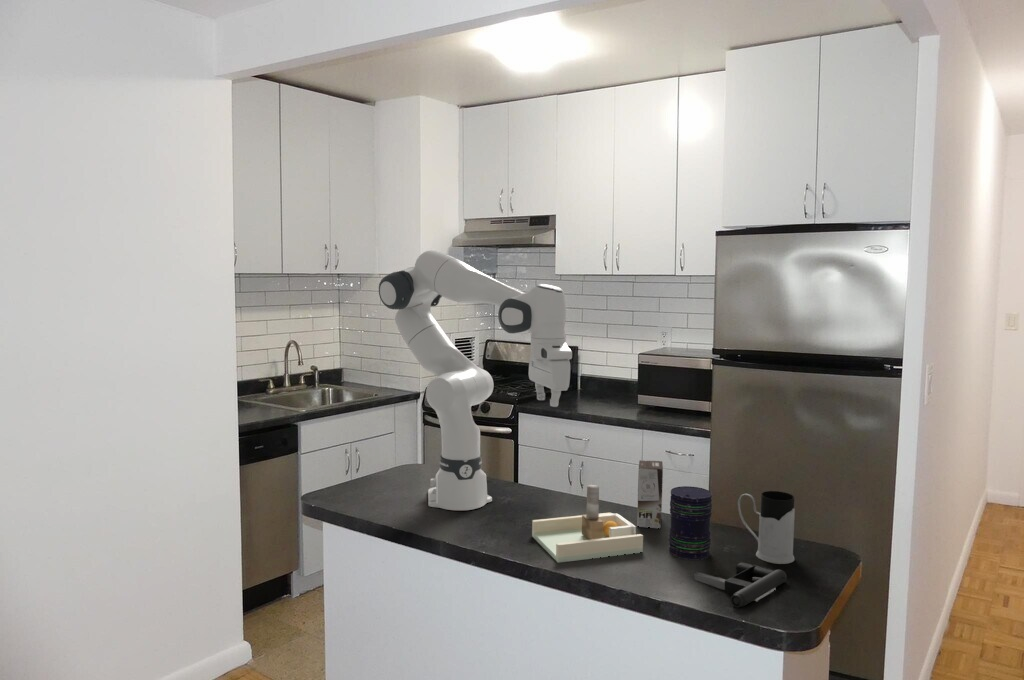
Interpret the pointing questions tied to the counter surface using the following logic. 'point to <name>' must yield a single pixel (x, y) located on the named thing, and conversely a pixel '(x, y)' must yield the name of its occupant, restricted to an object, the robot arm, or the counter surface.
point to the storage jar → (690, 522)
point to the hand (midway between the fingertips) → (547, 403)
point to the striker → (592, 515)
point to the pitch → (571, 545)
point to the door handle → (746, 583)
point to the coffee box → (650, 494)
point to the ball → (606, 527)
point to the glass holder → (774, 526)
